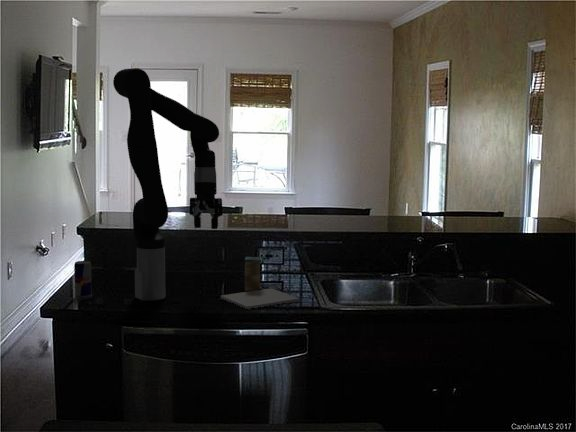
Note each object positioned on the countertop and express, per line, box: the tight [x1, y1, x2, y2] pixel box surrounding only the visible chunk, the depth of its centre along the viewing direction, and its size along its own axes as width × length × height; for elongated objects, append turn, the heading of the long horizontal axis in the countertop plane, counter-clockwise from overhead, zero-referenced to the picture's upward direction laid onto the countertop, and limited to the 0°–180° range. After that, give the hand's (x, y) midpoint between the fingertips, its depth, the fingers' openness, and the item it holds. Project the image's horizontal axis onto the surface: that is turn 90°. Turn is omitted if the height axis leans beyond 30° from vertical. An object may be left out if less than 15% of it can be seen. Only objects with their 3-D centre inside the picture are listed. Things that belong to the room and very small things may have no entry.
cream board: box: [220, 287, 300, 310], centre depth 267 cm, size 20×17×1 cm
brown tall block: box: [244, 256, 261, 292], centre depth 282 cm, size 5×5×11 cm
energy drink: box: [73, 260, 93, 300], centre depth 267 cm, size 5×5×12 cm
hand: (206, 228), depth 276 cm, fingers open, 8 cm apart
